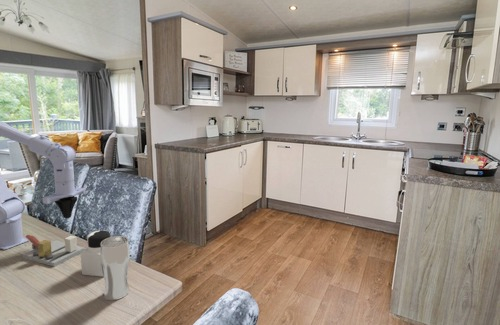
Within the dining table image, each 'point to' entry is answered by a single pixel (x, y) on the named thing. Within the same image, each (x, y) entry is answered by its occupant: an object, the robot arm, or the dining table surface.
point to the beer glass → (115, 266)
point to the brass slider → (44, 248)
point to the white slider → (70, 243)
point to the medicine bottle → (93, 254)
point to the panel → (53, 254)
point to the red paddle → (33, 240)
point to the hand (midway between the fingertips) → (67, 217)
